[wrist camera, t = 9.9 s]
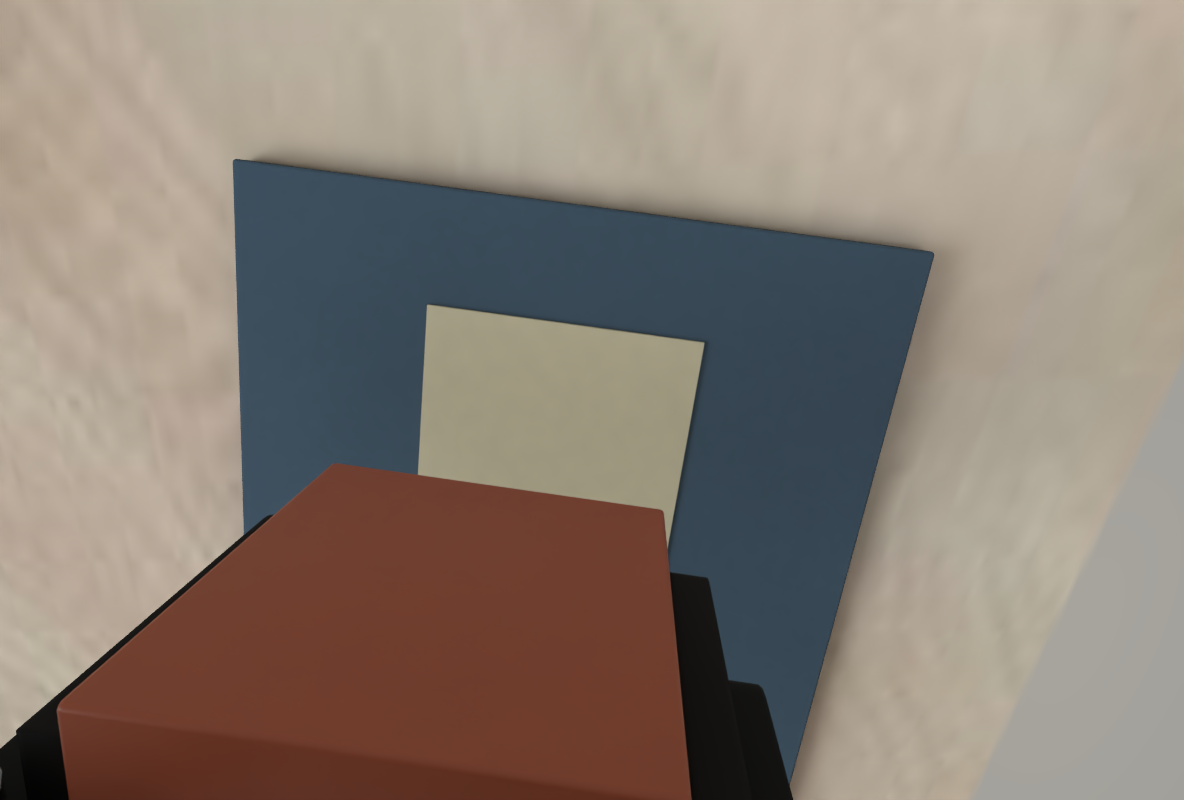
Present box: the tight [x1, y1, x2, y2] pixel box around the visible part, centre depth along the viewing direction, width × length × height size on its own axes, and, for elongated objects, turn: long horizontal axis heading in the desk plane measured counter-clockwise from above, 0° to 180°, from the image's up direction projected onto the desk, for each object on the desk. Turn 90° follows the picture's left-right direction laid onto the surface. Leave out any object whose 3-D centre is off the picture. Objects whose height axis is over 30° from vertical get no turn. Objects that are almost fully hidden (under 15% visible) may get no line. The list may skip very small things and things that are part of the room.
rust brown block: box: [57, 463, 692, 800], centre depth 7 cm, size 4×4×5 cm
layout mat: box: [233, 159, 934, 785], centre depth 18 cm, size 16×22×1 cm
